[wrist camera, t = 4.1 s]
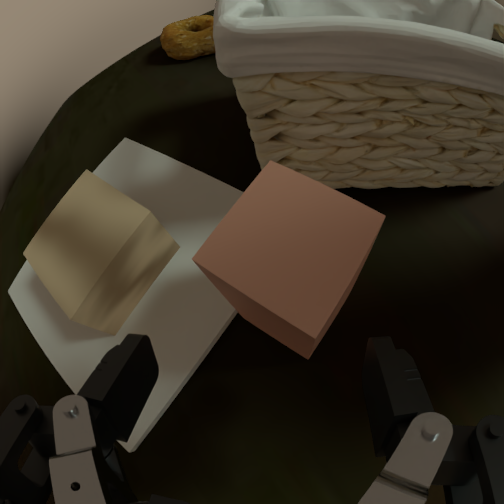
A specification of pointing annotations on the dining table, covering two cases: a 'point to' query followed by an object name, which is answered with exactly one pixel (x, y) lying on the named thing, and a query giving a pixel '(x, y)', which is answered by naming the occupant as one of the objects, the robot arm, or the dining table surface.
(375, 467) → the dining table surface
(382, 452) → the robot arm
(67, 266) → the oak brick
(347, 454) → the dining table surface
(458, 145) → the storage basket
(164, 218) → the build board
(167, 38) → the bagel
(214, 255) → the tall salmon block
